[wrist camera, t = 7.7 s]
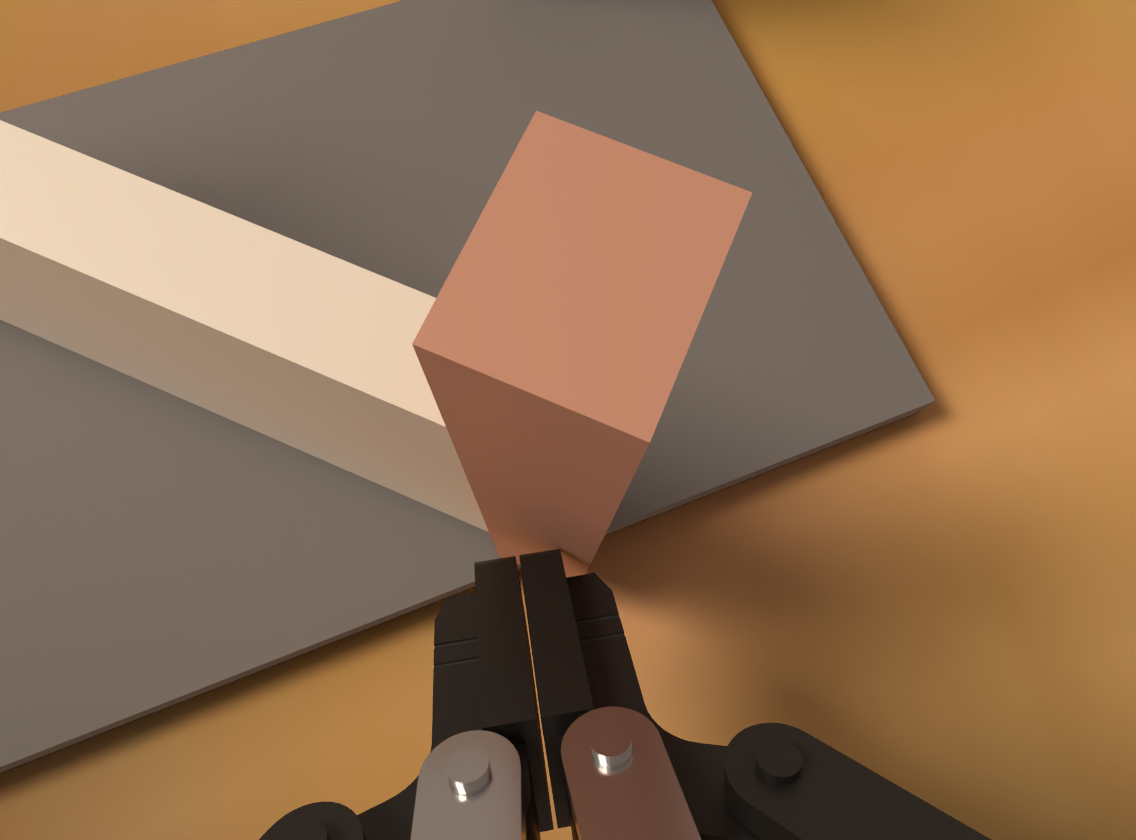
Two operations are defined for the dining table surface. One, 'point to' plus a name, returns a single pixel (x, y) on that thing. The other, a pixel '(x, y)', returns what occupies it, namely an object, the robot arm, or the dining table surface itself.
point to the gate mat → (415, 259)
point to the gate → (398, 323)
